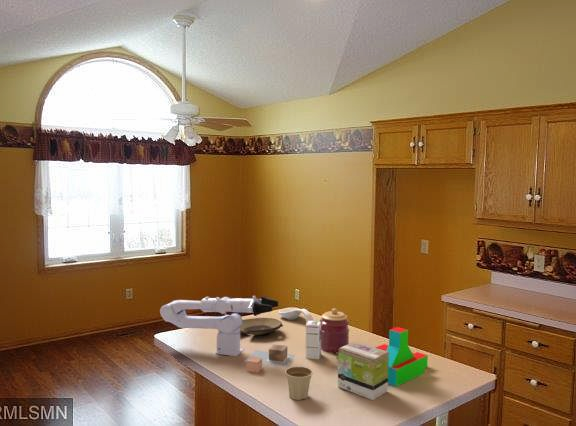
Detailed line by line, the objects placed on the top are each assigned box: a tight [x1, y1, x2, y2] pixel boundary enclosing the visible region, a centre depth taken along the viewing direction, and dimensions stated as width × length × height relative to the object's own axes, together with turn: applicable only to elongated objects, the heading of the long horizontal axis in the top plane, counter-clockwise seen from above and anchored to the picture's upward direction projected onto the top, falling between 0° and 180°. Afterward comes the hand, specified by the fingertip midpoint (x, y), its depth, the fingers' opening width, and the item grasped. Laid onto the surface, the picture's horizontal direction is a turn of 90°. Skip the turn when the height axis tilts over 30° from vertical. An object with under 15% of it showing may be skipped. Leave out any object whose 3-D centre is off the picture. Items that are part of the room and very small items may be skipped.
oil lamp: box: [222, 312, 284, 336], centre depth 237 cm, size 22×30×8 cm
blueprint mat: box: [243, 349, 297, 368], centre depth 203 cm, size 18×14×1 cm
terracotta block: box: [246, 357, 263, 373], centre depth 191 cm, size 4×4×4 cm
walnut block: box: [268, 344, 288, 362], centre depth 202 cm, size 6×6×4 cm
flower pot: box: [284, 366, 314, 401], centre depth 169 cm, size 9×9×9 cm
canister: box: [319, 307, 350, 354], centre depth 216 cm, size 13×13×18 cm
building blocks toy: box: [374, 326, 429, 387], centre depth 192 cm, size 19×25×18 cm
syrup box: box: [305, 320, 322, 360], centre depth 205 cm, size 6×6×14 cm
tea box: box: [337, 341, 389, 401], centre depth 174 cm, size 15×10×15 cm, turn 48°
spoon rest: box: [278, 308, 314, 325], centre depth 257 cm, size 24×12×7 cm, turn 36°
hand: (274, 306), depth 202 cm, fingers open, 7 cm apart
